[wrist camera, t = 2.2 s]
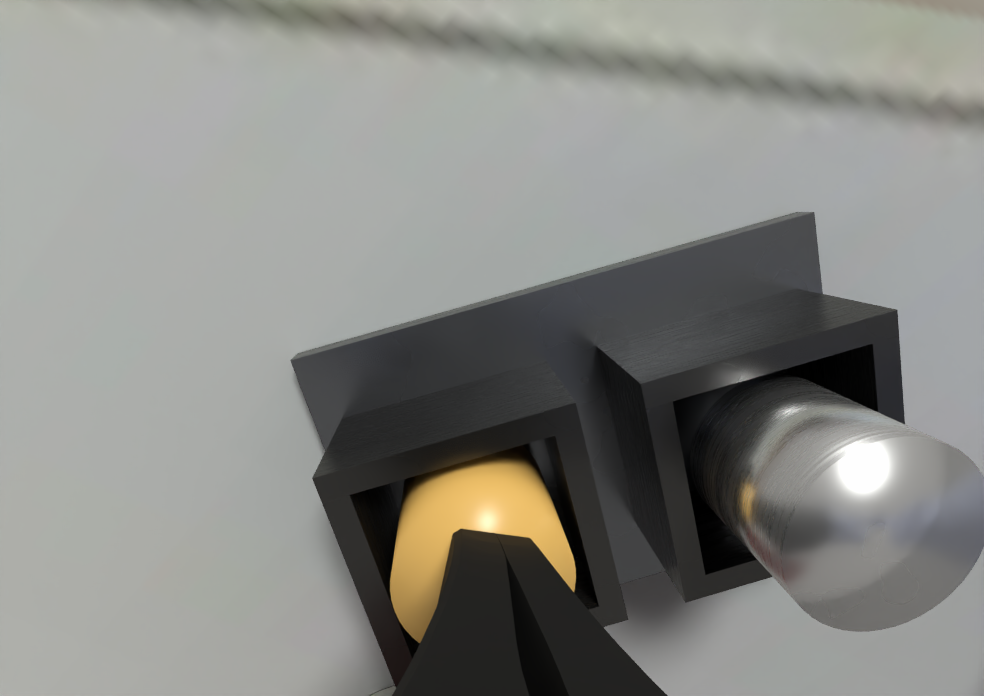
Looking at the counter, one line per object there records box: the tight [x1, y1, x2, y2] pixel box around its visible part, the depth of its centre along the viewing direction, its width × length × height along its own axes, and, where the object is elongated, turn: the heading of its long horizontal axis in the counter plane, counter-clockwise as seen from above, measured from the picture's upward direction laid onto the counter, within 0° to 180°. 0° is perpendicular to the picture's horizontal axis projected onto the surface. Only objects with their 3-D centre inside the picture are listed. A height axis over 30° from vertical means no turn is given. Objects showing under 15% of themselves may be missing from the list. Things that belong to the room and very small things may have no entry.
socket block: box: [291, 212, 905, 688], centre depth 12 cm, size 12×8×3 cm, turn 105°
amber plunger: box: [390, 445, 576, 643], centre depth 11 cm, size 3×3×3 cm
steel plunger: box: [690, 374, 984, 631], centre depth 9 cm, size 3×3×3 cm
